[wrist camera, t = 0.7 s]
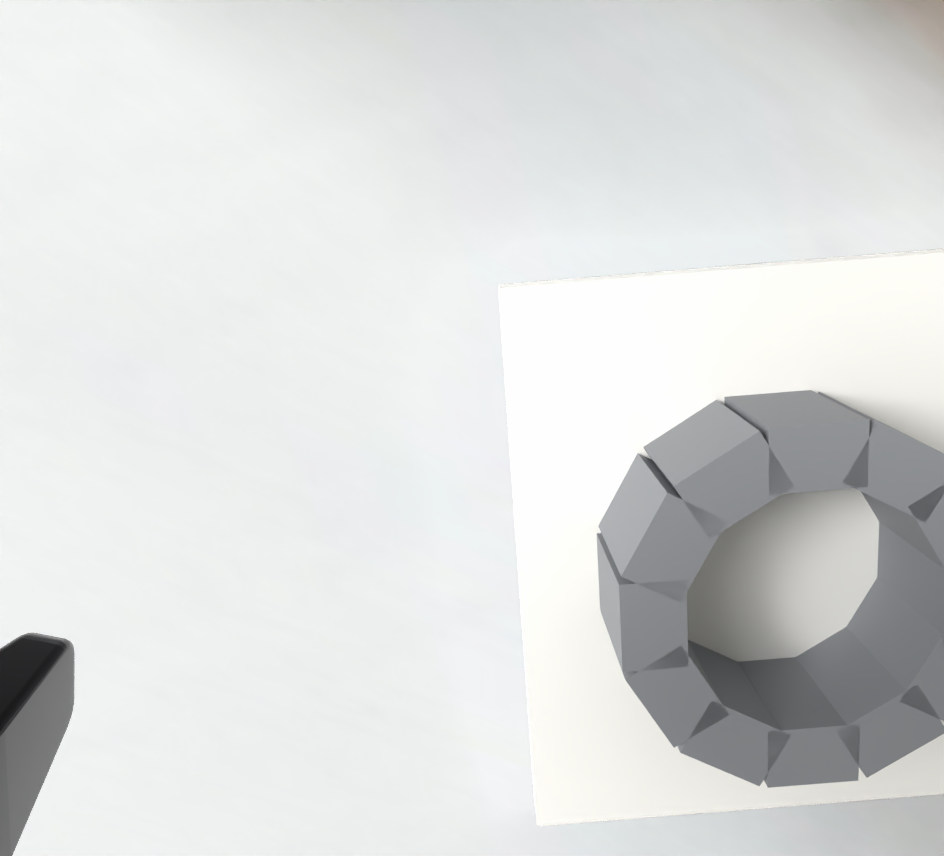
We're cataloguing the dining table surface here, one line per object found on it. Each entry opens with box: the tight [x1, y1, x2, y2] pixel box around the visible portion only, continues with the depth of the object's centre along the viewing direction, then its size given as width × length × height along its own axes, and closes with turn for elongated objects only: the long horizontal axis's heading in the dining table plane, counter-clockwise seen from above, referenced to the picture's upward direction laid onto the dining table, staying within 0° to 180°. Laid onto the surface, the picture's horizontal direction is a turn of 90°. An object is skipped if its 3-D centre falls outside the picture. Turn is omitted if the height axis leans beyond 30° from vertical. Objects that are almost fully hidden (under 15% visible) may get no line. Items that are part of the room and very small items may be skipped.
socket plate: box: [498, 249, 944, 826], centre depth 20 cm, size 14×12×4 cm
